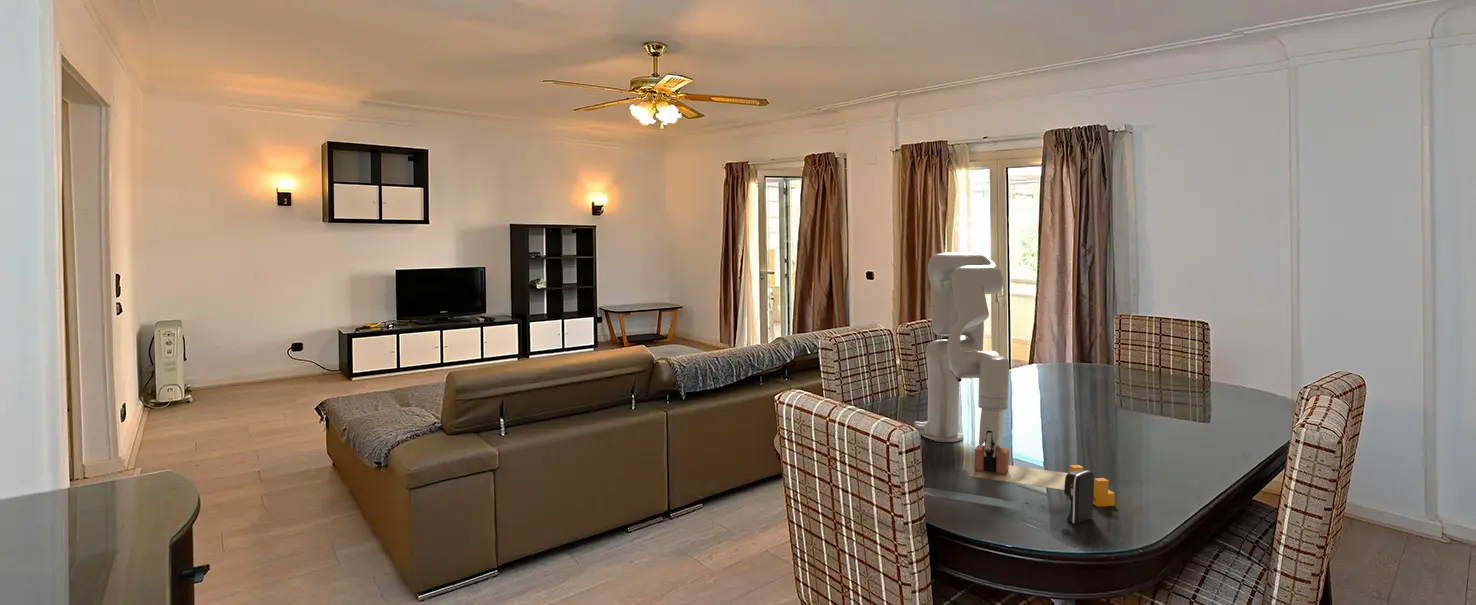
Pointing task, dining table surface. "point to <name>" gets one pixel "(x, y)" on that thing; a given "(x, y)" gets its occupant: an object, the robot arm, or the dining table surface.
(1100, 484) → the pipe clamp
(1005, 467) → the block
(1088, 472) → the battery charger
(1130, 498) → the dining table surface
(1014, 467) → the board
